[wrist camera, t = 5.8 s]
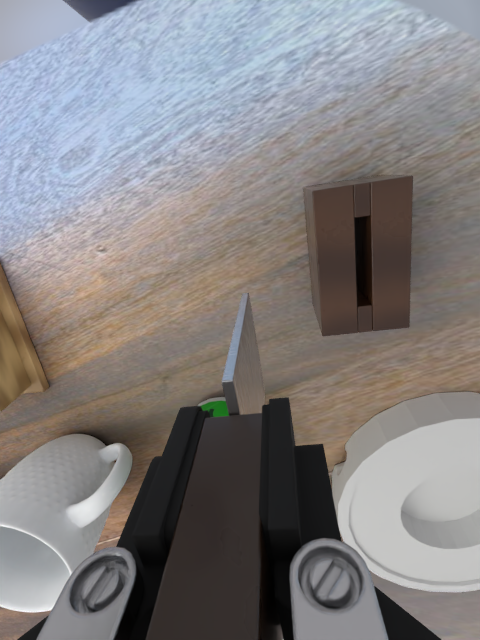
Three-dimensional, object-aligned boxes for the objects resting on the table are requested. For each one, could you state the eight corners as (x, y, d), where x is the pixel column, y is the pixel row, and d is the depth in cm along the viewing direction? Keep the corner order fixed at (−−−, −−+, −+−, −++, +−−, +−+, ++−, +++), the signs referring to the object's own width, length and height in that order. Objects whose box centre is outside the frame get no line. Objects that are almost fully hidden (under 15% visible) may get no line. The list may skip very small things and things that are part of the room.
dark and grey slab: (226, 295, 16) (118, 605, 4) (263, 290, 15) (245, 603, 4) (245, 393, 17) (200, 786, 6) (278, 390, 17) (293, 791, 6)
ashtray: (581, 524, 39) (613, 560, 36) (376, 575, 45) (385, 611, 41) (530, 354, 33) (563, 377, 29) (296, 440, 38) (298, 469, 35)
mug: (114, 384, 38) (39, 485, 25) (178, 457, 41) (138, 577, 28) (19, 442, 42) (-84, 551, 30) (83, 503, 45) (14, 626, 32)
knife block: (303, 186, 29) (311, 190, 22) (380, 174, 28) (413, 175, 22) (312, 304, 32) (322, 336, 26) (381, 296, 32) (409, 328, 25)
